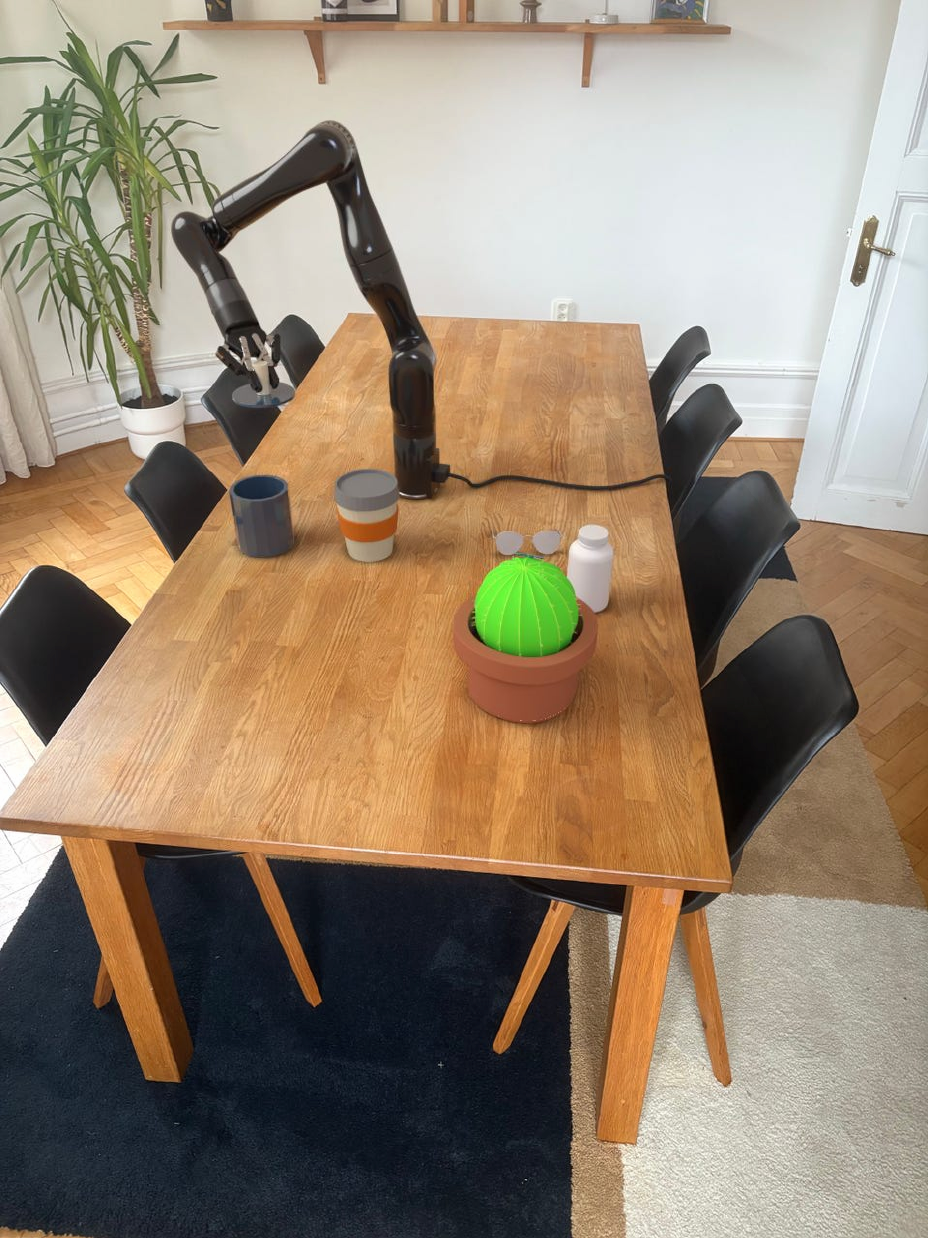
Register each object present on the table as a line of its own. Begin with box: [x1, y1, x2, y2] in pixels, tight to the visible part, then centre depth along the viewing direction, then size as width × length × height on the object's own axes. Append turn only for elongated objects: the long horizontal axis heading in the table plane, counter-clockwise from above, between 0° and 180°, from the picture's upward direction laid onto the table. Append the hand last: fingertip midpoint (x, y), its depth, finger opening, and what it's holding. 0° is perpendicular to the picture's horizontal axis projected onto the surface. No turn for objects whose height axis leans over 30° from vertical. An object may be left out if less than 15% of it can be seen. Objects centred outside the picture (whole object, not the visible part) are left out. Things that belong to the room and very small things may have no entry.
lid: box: [231, 360, 296, 409], centre depth 184 cm, size 12×12×7 cm
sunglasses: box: [491, 527, 564, 556], centre depth 191 cm, size 14×8×5 cm, turn 93°
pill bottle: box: [566, 524, 615, 614], centre depth 170 cm, size 8×8×15 cm
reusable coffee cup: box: [333, 468, 400, 563], centre depth 185 cm, size 12×13×15 cm
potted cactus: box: [452, 552, 599, 724], centre depth 147 cm, size 22×22×25 cm
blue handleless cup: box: [228, 474, 295, 559], centre depth 188 cm, size 11×11×13 cm
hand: (267, 388), depth 183 cm, fingers closed on lid, 3 cm apart
